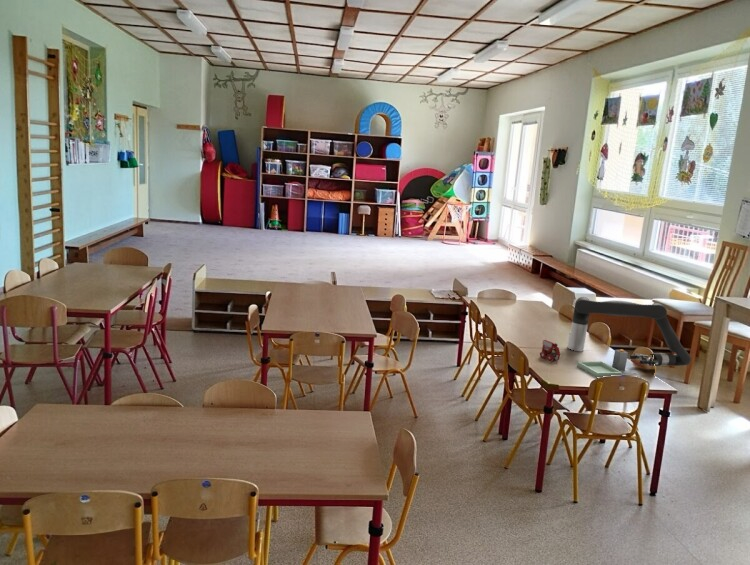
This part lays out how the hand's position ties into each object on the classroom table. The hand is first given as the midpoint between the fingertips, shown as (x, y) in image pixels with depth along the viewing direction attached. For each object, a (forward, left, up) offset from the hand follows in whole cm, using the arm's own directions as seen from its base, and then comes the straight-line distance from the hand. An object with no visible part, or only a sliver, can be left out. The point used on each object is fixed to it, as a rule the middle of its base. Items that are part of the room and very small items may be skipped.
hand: (635, 359), depth 349 cm
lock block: (0, -10, -6) cm, 12 cm away
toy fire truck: (-18, -44, -6) cm, 48 cm away
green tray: (+4, -26, -6) cm, 27 cm away
